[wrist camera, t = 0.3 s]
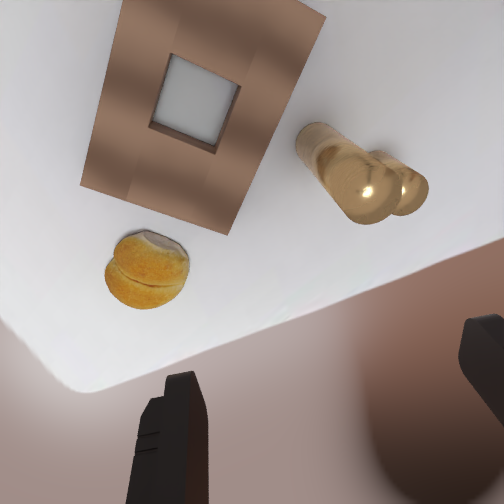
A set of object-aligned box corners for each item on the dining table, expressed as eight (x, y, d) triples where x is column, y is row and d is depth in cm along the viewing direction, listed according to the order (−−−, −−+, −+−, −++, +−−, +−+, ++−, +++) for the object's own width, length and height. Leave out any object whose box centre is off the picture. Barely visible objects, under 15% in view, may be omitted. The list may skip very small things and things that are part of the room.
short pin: (368, 144, 36) (401, 165, 30) (400, 159, 37) (437, 182, 31) (347, 180, 38) (374, 206, 32) (378, 193, 39) (410, 221, 33)
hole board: (149, -76, 26) (143, -89, 24) (316, 18, 30) (326, 17, 28) (89, 174, 35) (79, 185, 32) (226, 222, 39) (227, 235, 36)
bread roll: (99, 283, 41) (89, 305, 38) (128, 219, 38) (120, 237, 34) (168, 308, 44) (165, 330, 40) (201, 250, 40) (200, 269, 37)
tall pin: (307, 115, 34) (363, 156, 22) (343, 132, 35) (414, 180, 23) (288, 154, 36) (330, 212, 24) (323, 169, 37) (380, 232, 25)
